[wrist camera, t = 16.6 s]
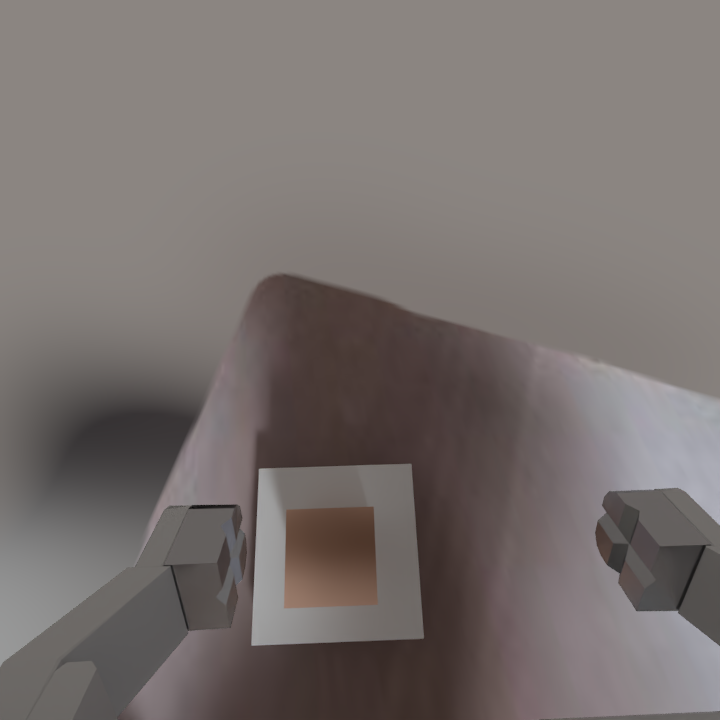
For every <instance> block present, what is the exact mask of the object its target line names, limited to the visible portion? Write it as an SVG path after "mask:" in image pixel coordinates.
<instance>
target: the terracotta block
mask: <svg viewBox="0 0 720 720" xmlns="http://www.w3.org/2000/svg"><path fill="white" fill-rule="evenodd" d="M359 605H378V598H377V574H376V550H375V527H374V507H346V508H318V509H289V510H286V544H285V589H284V608H308V607H333V606H359Z"/></svg>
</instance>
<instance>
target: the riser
mask: <svg viewBox="0 0 720 720" xmlns="http://www.w3.org/2000/svg"><path fill="white" fill-rule="evenodd" d="M346 507H374V527H375V550H376V574H377V598H378V605H359V606H333V607H308V608H284V589H285V544H286V510H289V509H318V508H346ZM404 639H424V631H423V617H422V603H421V589H420V575H419V562H418V548H417V534H416V520H415V506H414V492H413V478H412V464H385V465H355V466H324V467H294V468H263V469H259V482H258V505H257V528H256V550H255V573H254V596H253V619H252V641H251V646H256V645H281V644H305V643H330V642H355V641H379V640H404Z"/></svg>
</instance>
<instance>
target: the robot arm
mask: <svg viewBox="0 0 720 720" xmlns="http://www.w3.org/2000/svg"><path fill="white" fill-rule="evenodd" d="M602 506H603V508H604V509H605V511H606V512H607V513H606V514H605V515H604V516H603V517H602V518H600V519H599V520H598V522H597V527H596V532H595V534H596V542H597V546H598V549H599V552H600V554H601V556H602V558H603V559H604V561H605V563H606V564H607V565H608V566H609V567H611V568H612V569H614V570H615V571H617V572H618V573H620V575H619V582H618V583H619V585H620V586H621V588H622V589H623V591H624V592H625V594H626V595H627V597H628V599H629V600H630V602H631V603H632V605H633V606H634V608H635V609H636V611H679V612H678V613H679V614H680V615H681V616H682V617H684V618H685V619H686V620H688V621H689V622H690V623H691V624H693V625H694V626H695V627H696V628H698V629H699V630H700V631H702V632H703V633H704V634H705V635H707V636H708V637H709V638H710V639H712V640H713V641H714V642H716V643H717V644H718V645H719V646H720V525H719V524H717V523H716V522H715V521H714V520H713V519H712V518H711V517H710V516H709V515H708V514H707V513H706V512H705V511H704V510H703V509H702V508H701V507H700V506H699V505H698V504H697V503H696V502H695V501H694V500H693V499H692V498H691V497H690V496H689V495H688V494H687V493H686V492H685V491H683V490H681V489H679V488H669V489H654V490H632V491H609V492H608V493H607V494H606V495H605V497H604V500H603V504H602ZM241 521H242V514H241V509H240V506H238V505H192V506H169V507H167V508H166V509H165V510H164V511H163V513H162V515H161V517H160V519H159V521H158V523H157V525H156V527H155V529H154V531H153V533H152V535H151V537H150V539H149V541H148V543H147V544H146V546H145V548H144V550H143V552H142V554H141V556H140V558H139V560H138V562H137V564H136V566H135V567H132V568H126V569H125V570H124V571H123V572H121V573H120V574H119V575H118V576H116V577H115V578H113V579H112V580H111V581H110V582H108V583H107V584H106V585H104V586H103V587H102V588H100V589H99V590H98V591H96V592H95V593H94V594H92V595H91V596H90V597H88V598H87V599H86V600H85V601H83V602H82V603H81V604H79V605H78V606H77V607H76V608H74V609H73V610H71V611H70V612H69V613H67V614H66V615H65V616H63V617H62V618H61V619H60V620H58V621H57V622H56V623H54V624H53V625H52V626H50V627H49V628H48V629H46V630H45V631H44V632H43V633H41V634H40V635H39V636H37V637H36V638H35V639H33V640H32V641H31V642H29V643H28V644H27V645H26V646H24V647H23V648H22V649H20V650H19V651H18V652H16V653H15V654H14V655H12V656H11V657H10V658H9V659H7V660H6V661H4V662H3V664H2V666H1V667H0V720H118V718H117V717H118V716H119V715H120V714H121V713H122V711H123V710H124V709H125V708H126V707H127V705H128V704H129V703H130V702H131V701H132V699H133V698H134V697H135V696H136V695H137V694H138V692H139V691H140V690H141V689H142V688H143V686H144V685H145V684H146V683H147V682H148V681H149V679H150V678H151V677H152V676H153V675H154V673H155V672H156V671H157V670H158V669H159V668H160V666H161V665H162V664H163V663H164V662H165V660H166V659H167V658H168V657H169V656H170V654H171V653H172V652H173V651H174V650H175V649H176V647H177V646H178V645H179V644H180V643H181V641H182V640H183V639H184V638H185V637H186V636H187V634H188V631H192V630H206V629H220V628H231V624H232V620H233V616H234V612H235V608H236V604H237V600H238V595H237V589H236V585H237V584H238V583H239V582H240V581H241V580H242V579H243V575H244V570H245V564H246V554H247V550H246V537H245V533H244V532H243V531H241V530H240V525H241ZM541 720H720V711H715V712H693V713H671V714H650V715H628V716H606V717H584V718H563V719H541Z"/></svg>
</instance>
